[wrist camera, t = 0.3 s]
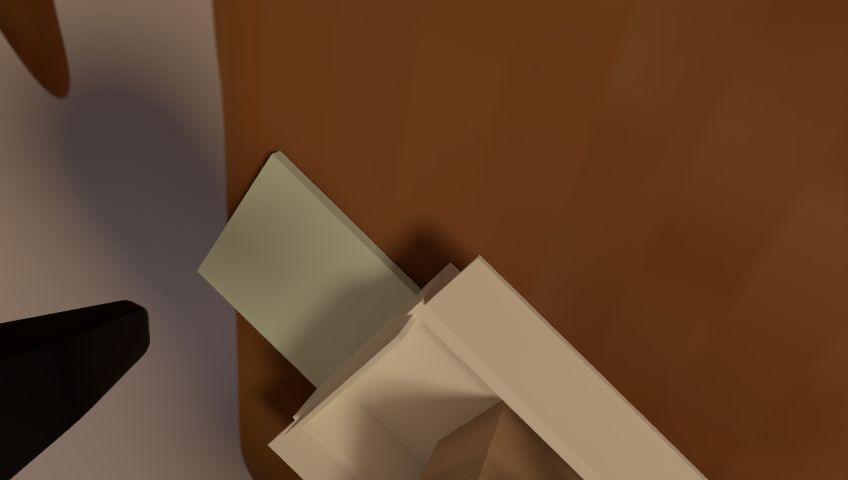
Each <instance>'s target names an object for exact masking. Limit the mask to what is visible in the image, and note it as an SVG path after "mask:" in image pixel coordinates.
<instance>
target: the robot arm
mask: <svg viewBox="0 0 848 480" xmlns="http://www.w3.org/2000/svg"><path fill="white" fill-rule="evenodd" d="M149 344H150V333H149V316H148V312H147V310H146V309H145V308H144V307H142V306H140V305H138V304H136V303H134V302H132V301H128V300H122V301H116V302H111V303H106V304H101V305H95V306H91V307H85V308H80V309H74V310H69V311H63V312H58V313H53V314H48V315H43V316H37V317H32V318H27V319H21V320H16V321H11V322H5V323H0V480H10V479H11V478H12V477H13V476H15V475H16V474H17V473H18V472H19V471H21V470H22V469H23V468H24V467H25V466H26V465H28V464H29V463H30V462H31V461H32V460H33V459H35V457H37V456H38V455H39V454H40V453H42V452H43V451H44V450H45V449H46V448H47V447H49V446H50V445H51V444H52V443H53V442H54V441H56V440H57V439H58V438H59V437H60V436H61V435H63V433H65V432H66V431H67V430H68V429H70V428H71V426H73V425H74V424H75V423H76V422H77V421H78V420H80V419H81V418H82V417H83V416H84V415H85V414H86V413H87V412H88V411H89V410H90V409H91V408H92V407H93V406H94V405H95V404H96V403H97V402H98V401H99V400H100V399H101V398H102V397H103V396H104V395H105V394H106V393H107V392H108V391H109V390H110V389H111V388H112V387H113V386H114V384H115V383H117V382H118V381H119V379H120V378H121V377H122V376H123V375H124V374H125V373H126V372H127V371H128V370H129V369H130V368H131V367H132V366H133V365H134V364H135V363H136V362H137V361H138V360H139V359H140V358H141V357H142V356H143V355H144V354H145V352H146V351H147V349H148V347H149Z"/></svg>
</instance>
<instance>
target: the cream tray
mask: <svg viewBox="0 0 848 480" xmlns="http://www.w3.org/2000/svg"><path fill="white" fill-rule="evenodd" d="M501 400H503V401H504V402H505V403H506V404H507V405H508V406H509V407H510V408H511V409H513V410H514V411H515V412H516V413H517V414H518V415H519V416H520V417H521V418H522V419H523V420H524V421H525V422H526V423H527V424H528V425H529V426H530V427H531V428H532V429H533V430H534V431H535V432H536V433H537V434H538V435H539V436H540V437H541V438H542V439H543V440H544V441H545V442H546V443H547V444H548V445H549V446H550V447H551V448H552V449H553V450H554V451H555V452H556V453H557V454H558V455H559V456H560V457H561V458H562V459H563V460H564V461H566V462H567V463H568V464H569V465H570V466H571V467H572V468H573V469H574V470H575V471H576V472H577V473H578V474H579V475H580V476H581V477H582V478H583V479H584V480H708V479H707V478H706V477H705V476H704V475H703V474H702V473H701V472H700V471H699V470H698V469H697V468H696V467H695V466H694V465H693V464H691V463H690V462H689V461H688V460H687V459H686V458H685V457H684V456H683V455H682V454H681V453H680V452H679V451H678V450H677V449H676V448H675V447H674V446H673V445H672V444H671V443H670V442H669V441H668V440H667V439H666V438H665V437H664V436H663V435H662V434H661V433H660V432H659V431H658V430H657V429H656V428H655V427H654V426H653V425H652V424H651V423H650V422H649V421H648V420H647V419H646V418H645V417H644V416H643V415H642V414H641V413H640V412H639V411H638V410H637V409H636V408H635V407H634V406H633V405H632V404H631V403H630V402H628V401H627V400H626V399H625V398H624V397H623V396H622V395H621V394H620V393H619V392H618V391H617V390H616V389H615V388H614V387H613V386H612V385H611V384H610V383H609V382H608V381H607V380H606V379H605V378H604V377H603V376H602V375H601V374H600V373H599V372H598V371H597V370H596V369H595V368H594V367H593V366H592V365H591V364H590V363H589V362H588V361H587V360H586V359H585V358H584V357H583V356H582V355H581V354H580V353H579V352H578V351H577V350H576V349H575V348H574V347H573V346H572V345H571V344H570V343H569V342H568V341H567V340H566V339H564V338H563V337H562V336H561V335H560V334H559V333H558V332H557V331H556V330H555V329H554V328H553V327H552V326H551V325H550V324H549V323H548V322H547V321H546V320H545V319H544V318H543V317H542V316H541V315H540V314H539V313H538V312H537V311H536V310H535V309H534V308H533V307H532V306H531V305H530V304H529V303H528V302H527V301H526V300H525V299H524V298H523V297H522V296H521V295H520V294H519V293H518V292H517V291H516V290H515V289H514V288H513V287H512V286H511V285H510V284H509V283H508V282H507V281H506V280H505V279H504V278H503V277H502V276H500V275H499V274H498V273H497V272H496V271H495V270H494V269H493V268H492V267H491V266H490V265H489V264H488V263H487V262H486V261H485V260H484V259H483V258H482V257H481V256H480V255H479V256H478V257H477V258H476V259H474V260H473V261H472V262H471V263H470V264H469V265H468V266H467V267H465V268H464V269H463V270H462V271H461V272H460V271H459V270H458V269H457V268H456V267H455V266H454V265H453V264H452V263H451V262H450V263H449V264H448V265H447V266H446V267H445V268H444V269H443V270H441V271H440V272H439V273H438V274H437V275H436V276H435V277H434V278H433V279H432V280H431V281H430V282H429V283H427V284H426V285H425V286H424V287H423V288H422V289H421V290H420V291H419V293H418V294H417V295H416V296H415V297H414V298H413V299H412V300H411V301H410V302H409V303H408V304H407V305H405V306H404V307H403V308H402V309H401V310H400V311H399V312H398V313H397V314H396V315H395V316H394V317H392V318H391V319H390V320H389V321H388V322H387V323H386V324H385V325H384V326H383V327H382V328H380V329H379V330H378V331H377V332H376V333H375V334H374V335H373V336H372V337H371V338H370V339H369V340H367V341H366V342H365V343H364V344H363V345H362V346H361V347H360V348H359V349H358V350H357V351H356V352H354V353H353V354H352V355H351V356H350V357H349V358H348V359H347V360H346V361H345V362H344V363H343V364H341V365H340V366H339V367H338V368H337V369H336V370H335V371H334V372H333V373H332V374H331V375H330V376H328V377H327V378H326V379H325V380H324V381H323V383H322V384H321V385H320V386H319V387H318V388H317V390H316V391H315V392H314V393H313V394H312V395H311V396H310V398H309V399H308V400H307V401H306V402H305V403H304V405H303V406H302V407H301V408H300V409H299V410H298V412H297V413H296V414H295V415H294V416H293V418H294V419H295V420H294V421H293V422H292V423H291V424H290V425H289V426H288V427H287V428H285V429H284V430H283V431H282V432H281V433H280V434H279V435H278V436H277V437H275V438H274V439H273V440H272V441H271V442H270V443H269V444H268V446H269V447H270V448H271V449H272V450H274V451H275V452H276V453H277V454H278V455H279V456H280V457H281V458H282V459H283V460H284V461H285V462H286V463H287V464H288V465H289V466H290V467H291V468H292V469H293V470H294V471H295V472H296V473H297V474H298V475H299V476H300V477H301V478H302V479H303V480H420V479H421V476H422V474H423V472H424V470H425V468H426V466H427V464H428V461H429V459H430V457H431V455H432V453H433V451H434V449H435V447H436V444H437V442H438V441H439V440H441V439H442V438H444V437H445V436H447V435H448V434H450V433H452V432H453V431H455V430H456V429H458V428H459V427H461V426H462V425H464V424H466V423H467V422H469V421H470V420H472V419H473V418H475V417H476V416H478V415H480V414H481V413H483V412H484V411H486V410H487V409H489V408H490V407H492V406H494V405H495V404H497V403H498V402H500V401H501Z"/></svg>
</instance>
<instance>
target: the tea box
mask: <svg viewBox="0 0 848 480" xmlns="http://www.w3.org/2000/svg"><path fill="white" fill-rule="evenodd" d="M420 480H584V479H583V478H582V477H581V476H580V475H579V474H578V473H577V472H576V471H575V470H574V469H573V468H572V467H571V466H570V465H569V464H568V463H567V462H566V461H564V460H563V459H562V458H561V457H560V456H559V455H558V454H557V453H556V452H555V451H554V450H553V449H552V448H551V447H550V446H549V445H548V444H547V443H546V442H545V441H544V440H543V439H542V438H541V437H540V436H539V435H538V434H537V433H536V432H535V431H534V430H533V429H532V428H531V427H530V426H529V425H528V424H527V423H526V422H525V421H524V420H523V419H522V418H521V417H520V416H519V415H518V414H517V413H516V412H515V411H514V410H513V409H511V408H510V407H509V406H508V405H507V404H506V403H505V402H504V401H503V400H501V401H500V402H498V403H497V404H495V405H494V406H492V407H490V408H489V409H487V410H486V411H484V412H483V413H481V414H480V415H478V416H476V417H475V418H473V419H472V420H470V421H469V422H467V423H466V424H464V425H462V426H461V427H459V428H458V429H456V430H455V431H453V432H452V433H450V434H448V435H447V436H445V437H444V438H442V439H441V440H439V441H438V442H437V444H436V447H435V449H434V451H433V453H432V455H431V457H430V459H429V461H428V464H427V466H426V468H425V470H424V472H423V474H422V476H421V479H420Z"/></svg>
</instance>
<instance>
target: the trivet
mask: <svg viewBox="0 0 848 480" xmlns="http://www.w3.org/2000/svg"><path fill="white" fill-rule="evenodd" d="M197 272H198V273H200V275H202V276H203V277H204V278H205V279H206V280H207V281H208V282H209V283H210V284H211V285H212V286H213V287H214V288H215V289H216V290H217V291H218V292H219V293H220V294H221V295H222V296H223V297H224V298H225V299H226V300H227V301H228V302H229V303H230V304H231V305H232V306H233V307H234V308H235V309H236V310H237V311H238V312H239V313H240V314H241V315H242V316H243V317H244V318H246V319H247V320H248V321H249V322H250V323H251V324H252V325H253V326H254V327H255V328H256V329H257V330H258V331H259V332H260V333H261V334H262V335H263V336H264V337H265V338H266V339H267V340H268V341H269V342H270V343H271V344H272V345H273V346H274V347H275V348H276V349H277V350H278V351H279V352H280V353H281V354H282V355H283V356H284V357H285V358H286V359H287V360H289V361H290V362H291V363H292V364H293V365H294V366H295V367H296V368H297V369H298V370H299V371H300V372H301V373H302V374H303V375H304V376H305V377H306V378H307V379H308V380H309V381H310V382H311V383H312V384H313V385H314V386H315V387H316V388H318V387H319V386H320V385H321V384H322V383H323V381H324V380H325V379H326V378H327V377H328V376H330V375H331V374H332V373H333V372H334V371H335V370H336V369H337V368H338V367H339V366H340V365H341V364H343V363H344V362H345V361H346V360H347V359H348V358H349V357H350V356H351V355H352V354H353V353H354V352H356V351H357V350H358V349H359V348H360V347H361V346H362V345H363V344H364V343H365V342H366V341H367V340H369V339H370V338H371V337H372V336H373V335H374V334H375V333H376V332H377V331H378V330H379V329H380V328H382V327H383V326H384V325H385V324H386V323H387V322H388V321H389V320H390V319H391V318H392V317H394V316H395V315H396V314H397V313H398V312H399V311H400V310H401V309H402V308H403V307H404V306H405V305H407V304H408V303H409V302H410V301H411V300H412V299H413V298H414V297H415V296H416V295H417V294H418V293H419V291H420V290H421V289H420V288H419V287H418V286H417V285H416V284H415V283H414V282H413V281H412V280H411V279H410V278H409V277H408V276H407V275H406V274H405V273H404V272H403V271H402V270H401V269H400V268H399V267H398V266H397V265H396V264H395V263H394V262H393V261H392V260H391V259H390V258H389V257H388V256H387V255H386V254H385V253H384V252H383V251H382V250H381V249H380V248H379V247H378V246H377V245H376V244H375V243H374V242H373V241H372V240H370V239H369V238H368V237H367V236H366V235H365V234H364V233H363V232H362V231H361V230H360V229H359V228H358V227H357V226H356V225H355V224H354V223H353V222H352V221H351V220H350V219H349V218H348V217H347V216H346V215H345V214H344V213H343V212H342V211H341V210H340V209H339V208H338V207H337V206H336V205H335V204H334V203H333V202H332V201H331V200H330V199H329V198H328V197H327V196H326V195H325V194H324V193H323V192H322V191H321V190H320V189H319V188H318V187H317V186H316V185H314V184H313V183H312V182H311V181H310V180H309V179H308V178H307V177H306V176H305V175H304V174H303V173H302V172H301V171H300V170H299V169H298V168H297V167H296V166H295V165H294V164H293V163H292V162H291V161H290V160H289V159H288V158H287V157H286V156H285V155H284V154H283V153H282V152H281V151H278V152H276V153H273V154H272V155H271V156H270V158H269V159H268V161H267V162H266V164H265V166H264V167H263V169H262V170H261V172H260V173H259V175H258V176H257V178H256V180H255V181H254V183H253V184H252V186H251V187H250V189H249V191H248V192H247V194H246V195H245V197H244V198H243V200H242V201H241V203H240V205H239V206H238V208H237V209H236V211H235V212H234V214H233V216H232V217H231V219H230V220H229V222H228V223H227V225H226V226H225V228H224V230H223V231H222V233H221V234H220V236H219V237H218V239H217V241H216V242H215V244H214V245H213V247H212V248H211V250H210V251H209V253H208V255H207V256H206V258H205V259H204V261H203V262H202V264H201V266H200V267H199V269H198V270H197Z"/></svg>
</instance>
